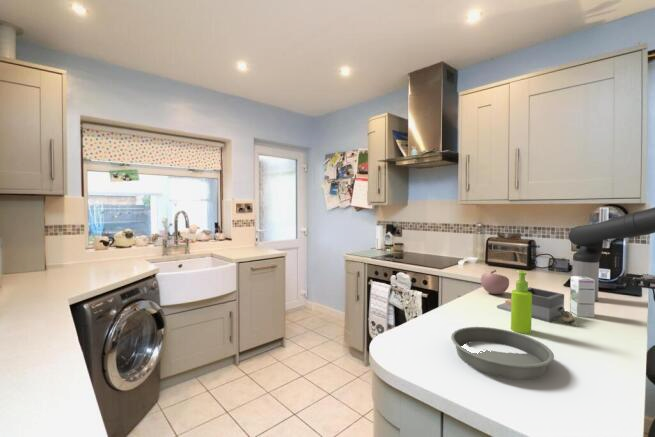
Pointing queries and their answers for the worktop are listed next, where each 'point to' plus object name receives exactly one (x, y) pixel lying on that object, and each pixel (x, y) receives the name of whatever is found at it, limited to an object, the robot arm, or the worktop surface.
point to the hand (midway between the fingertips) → (622, 277)
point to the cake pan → (500, 361)
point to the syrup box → (582, 296)
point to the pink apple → (494, 283)
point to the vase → (567, 316)
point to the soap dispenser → (521, 306)
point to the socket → (541, 304)
